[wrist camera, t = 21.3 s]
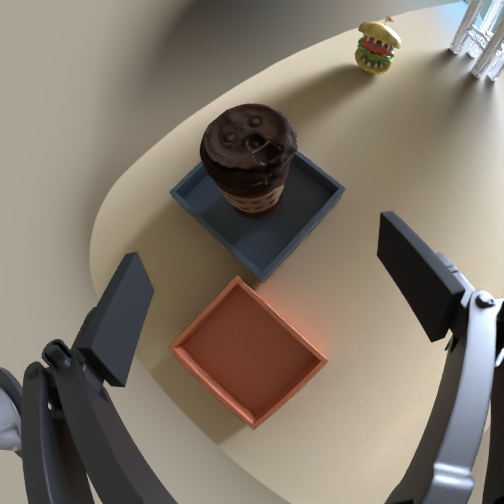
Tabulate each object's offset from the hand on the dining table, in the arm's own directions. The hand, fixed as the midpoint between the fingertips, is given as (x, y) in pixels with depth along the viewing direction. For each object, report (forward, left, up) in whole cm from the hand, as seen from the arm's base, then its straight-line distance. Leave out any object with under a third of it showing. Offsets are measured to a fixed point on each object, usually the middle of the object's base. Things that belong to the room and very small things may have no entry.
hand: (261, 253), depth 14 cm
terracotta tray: (+4, -7, -18) cm, 20 cm away
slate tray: (-8, +7, -18) cm, 21 cm away
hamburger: (-12, +42, -18) cm, 47 cm away
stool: (+4, +78, -18) cm, 80 cm away
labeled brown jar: (-8, +7, -17) cm, 20 cm away
